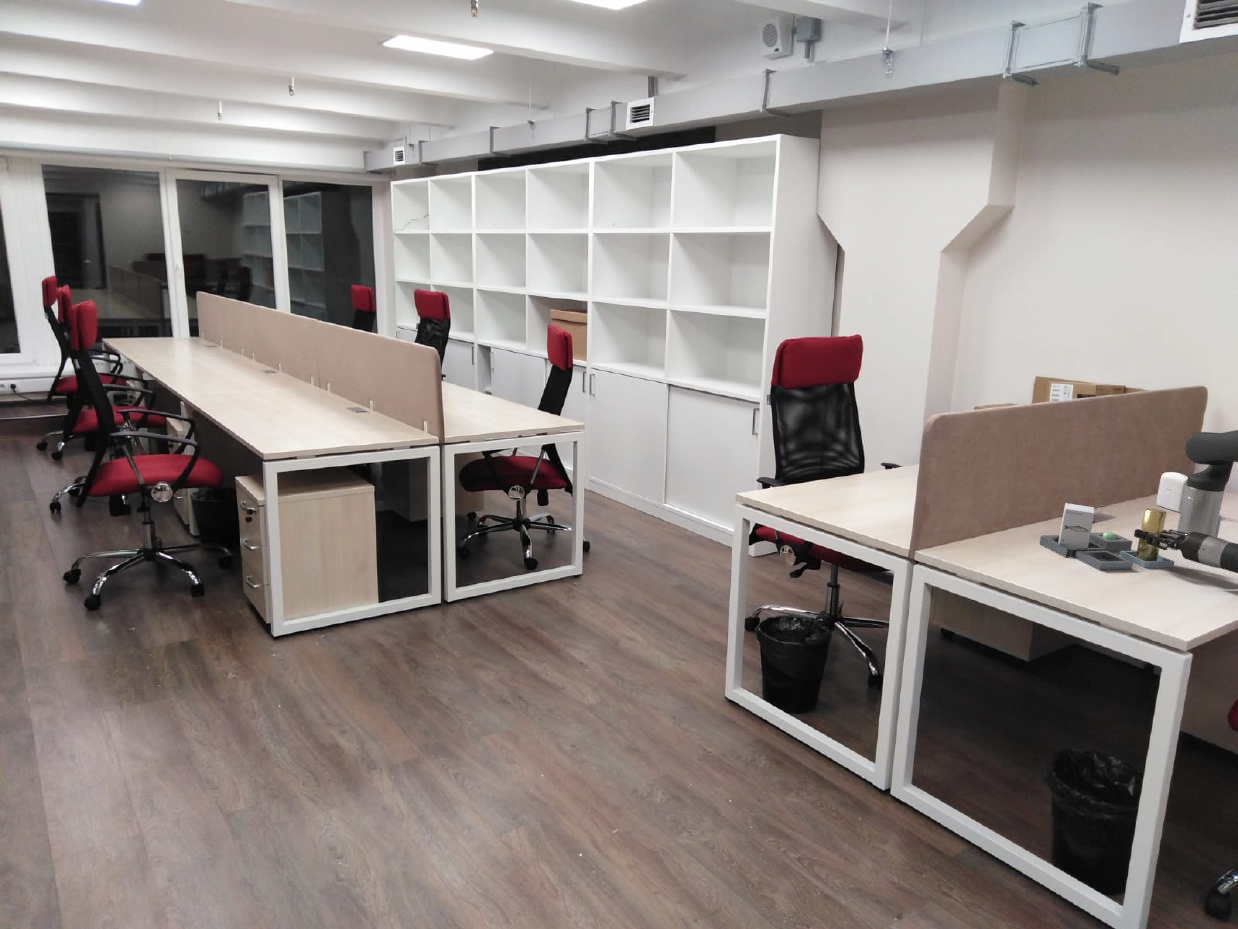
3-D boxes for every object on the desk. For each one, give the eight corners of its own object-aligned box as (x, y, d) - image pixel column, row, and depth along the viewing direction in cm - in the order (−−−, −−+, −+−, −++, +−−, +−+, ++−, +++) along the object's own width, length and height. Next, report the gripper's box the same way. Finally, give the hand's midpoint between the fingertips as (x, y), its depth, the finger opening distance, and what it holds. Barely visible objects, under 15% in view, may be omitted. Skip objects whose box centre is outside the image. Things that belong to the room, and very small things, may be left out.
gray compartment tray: (1076, 543, 249) (1078, 534, 248) (1135, 571, 227) (1137, 562, 227) (1038, 543, 247) (1039, 535, 246) (1094, 572, 225) (1095, 563, 224)
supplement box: (1057, 551, 240) (1064, 508, 237) (1057, 544, 247) (1065, 502, 244) (1086, 557, 237) (1094, 512, 234) (1086, 549, 244) (1094, 506, 241)
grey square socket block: (1109, 543, 250) (1111, 532, 249) (1130, 553, 242) (1132, 541, 241) (1085, 544, 248) (1087, 532, 247) (1104, 553, 241) (1107, 541, 240)
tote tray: (1147, 557, 239) (1148, 550, 239) (1173, 568, 230) (1174, 561, 230) (1118, 557, 237) (1120, 551, 237) (1143, 569, 229) (1144, 562, 228)
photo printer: (1153, 504, 296) (1160, 469, 293) (1163, 504, 297) (1170, 469, 294) (1178, 513, 286) (1185, 477, 283) (1189, 513, 287) (1196, 477, 284)
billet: (1147, 557, 237) (1156, 508, 233) (1161, 563, 232) (1171, 513, 229) (1131, 557, 236) (1140, 508, 233) (1144, 564, 231) (1154, 513, 228)
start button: (1109, 541, 247) (1111, 531, 246) (1117, 545, 243) (1119, 535, 243) (1098, 542, 246) (1100, 532, 245) (1107, 546, 243) (1109, 535, 242)
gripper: (1225, 532, 223) (1158, 515, 237) (1196, 539, 216) (1128, 521, 230) (1220, 560, 225) (1153, 541, 239) (1190, 568, 217) (1123, 548, 232)
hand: (1141, 531), depth 234 cm, fingers closed on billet, 5 cm apart
